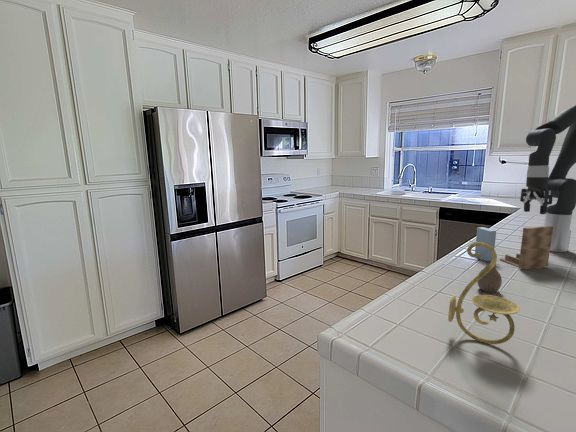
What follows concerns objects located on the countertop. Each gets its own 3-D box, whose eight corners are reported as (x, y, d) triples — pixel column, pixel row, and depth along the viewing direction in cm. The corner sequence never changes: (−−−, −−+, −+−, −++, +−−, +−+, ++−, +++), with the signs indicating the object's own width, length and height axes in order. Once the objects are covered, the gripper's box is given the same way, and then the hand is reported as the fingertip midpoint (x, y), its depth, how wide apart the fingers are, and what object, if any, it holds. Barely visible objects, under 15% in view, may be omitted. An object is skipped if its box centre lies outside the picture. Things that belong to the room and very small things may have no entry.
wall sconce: (445, 341, 79) (453, 243, 74) (451, 324, 86) (459, 235, 82) (514, 361, 71) (528, 253, 66) (514, 341, 78) (527, 242, 74)
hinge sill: (520, 258, 138) (525, 220, 135) (547, 267, 127) (553, 226, 124) (496, 260, 136) (500, 222, 133) (521, 270, 125) (526, 228, 122)
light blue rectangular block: (480, 255, 143) (483, 227, 141) (493, 260, 136) (496, 230, 134) (474, 256, 143) (477, 227, 140) (486, 261, 136) (490, 231, 133)
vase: (497, 287, 109) (499, 263, 108) (503, 296, 103) (506, 270, 101) (474, 285, 112) (476, 261, 110) (478, 293, 105) (481, 268, 103)
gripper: (560, 176, 133) (556, 214, 135) (532, 175, 147) (529, 210, 150) (543, 176, 133) (540, 215, 135) (516, 176, 147) (514, 211, 149)
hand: (534, 212), depth 142 cm, fingers open, 8 cm apart
